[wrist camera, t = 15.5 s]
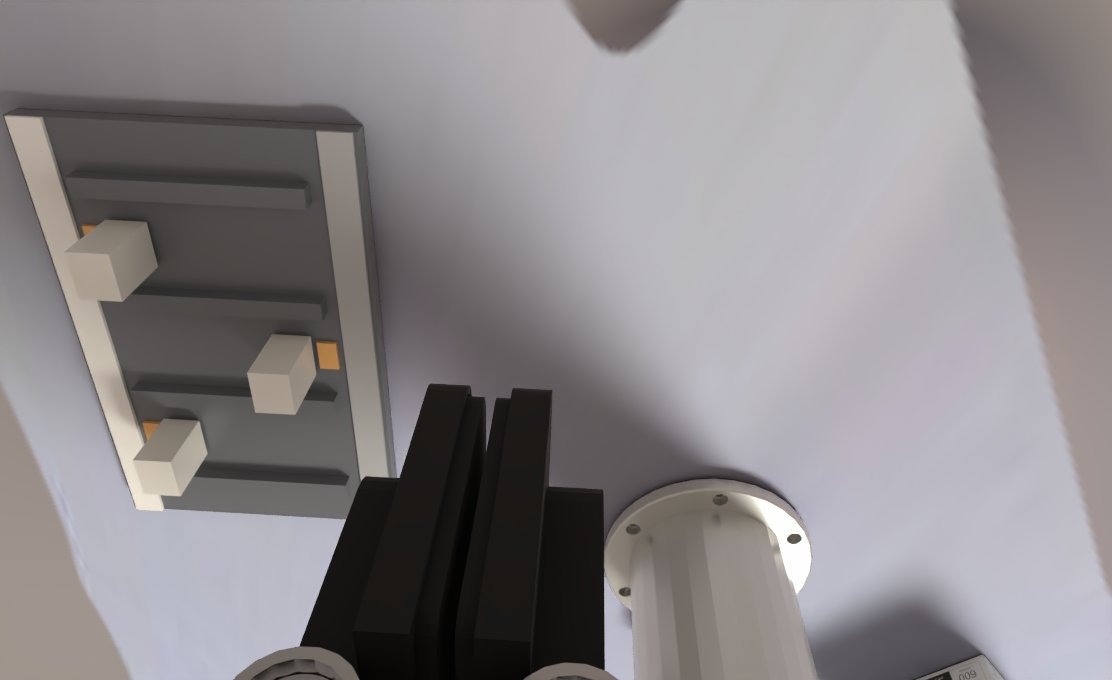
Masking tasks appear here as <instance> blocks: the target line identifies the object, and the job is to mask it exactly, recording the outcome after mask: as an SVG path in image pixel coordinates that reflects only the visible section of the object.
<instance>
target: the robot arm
mask: <svg viewBox="0 0 1112 680" xmlns="http://www.w3.org/2000/svg"><path fill="white" fill-rule="evenodd" d="M551 415H552V390H538V389H519V388H513V390H512V395H511V399H509V398H497V399H496V402H495V408H494V413H493V419H492V424H491V430H490V435H489V441H488V446H487V452H486V403H485V398H484V397H473V396H472V395H471V387H470V386H465V385H447V384H430V385H429V386H428V388H427V391H426V394H425V398H424V401H423V404H422V407H421V411H420V414H419V417H418V420H417V424H416V427H415V430H414V433H413V436H412V440H411V443H410V446H409V449H408V453H407V456H406V459H405V462H404V466H403V469H402V472H401V475H400V478H389V477H372V476H365V477H364V478H363V479H362V481H361V483H360V485H359V487H358V489H357V492H356V494H355V497H354V500H353V503H352V505H351V508H350V511H349V513H348V516H347V519H346V522H345V524H344V527H343V530H342V532H341V535H340V538H339V541H338V543H337V546H336V549H335V551H334V554H333V557H332V560H331V562H330V565H329V568H328V570H327V573H326V576H325V579H324V581H323V584H322V587H321V589H320V592H319V595H318V598H317V600H316V603H315V606H314V608H313V611H312V614H311V617H310V619H309V622H308V625H307V627H306V630H305V633H304V636H303V638H302V641H301V644H300V646H299V647H294V648H289V649H284V650H279V651H276V652H274V653H272V654H270V655H267V656H265V657H263V658H261V659H259V660H257V661H255V662H254V663H252V664H251V665H250V666H249V667H247V668H246V669H245V670H243V671H242V672H241V673H240V674H238V675H237V676H236V677H235V679H234V680H618V679H617V678H615V677H614V676H612V675H611V674H610V673H608V672H607V671H605V660H604V568H605V574H606V579H607V581H608V583H609V586H610V588H611V590H612V592H613V593H614V594H615V595H616V597H617V598H618V599H619V600H620V602H621V603H622V604H624V605H625V606H626V607H627V608H628V609H630V610H631V611H632V634H633V658H634V680H818V676H817V673H816V669H815V665H814V661H813V657H812V654H811V650H810V646H809V642H808V638H807V634H806V630H805V627H804V623H803V619H802V615H801V611H800V607H799V603H798V600H797V596H796V595H797V594H798V592H799V591H800V590H801V588H802V587H803V586H804V584H805V582H806V580H807V578H808V575H809V573H810V570H811V564H812V549H811V543H810V539H809V536H808V533H807V530H806V527H805V525H804V523H803V522H802V520H801V518H800V517H799V515H798V514H797V513H796V512H795V510H794V509H793V508H792V507H791V506H790V505H789V504H788V503H787V502H785V501H784V500H782V499H781V498H779V497H778V496H776V495H775V494H773V493H772V492H769V491H767V490H765V489H762V488H760V487H758V486H755V485H751V484H747V483H743V482H739V481H735V480H724V479H698V480H690V481H685V482H680V483H675V484H671V485H669V486H666V487H663V488H660V489H657V490H655V491H653V492H651V493H649V494H647V495H645V496H643V497H642V498H640V499H638V500H637V501H635V502H634V503H633V504H632V505H630V506H629V507H628V508H627V509H625V510H624V511H623V513H622V514H621V515H620V516H619V517H618V518H617V520H616V521H615V522H614V524H613V526H612V527H611V529H610V531H609V533H608V535H607V539H606V543H605V548H604V508H603V490H598V489H581V488H563V487H549V465H550V440H551Z"/></svg>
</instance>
